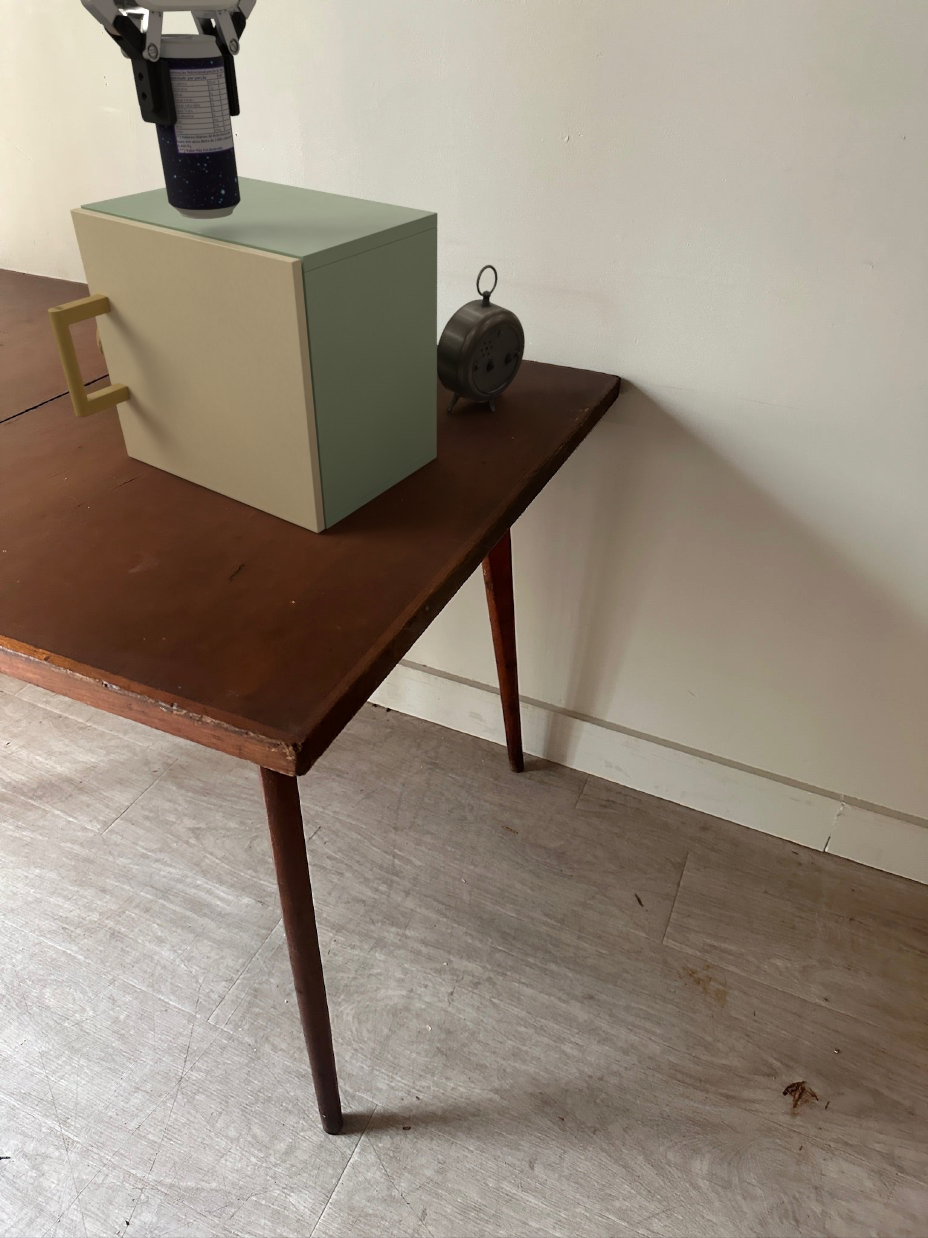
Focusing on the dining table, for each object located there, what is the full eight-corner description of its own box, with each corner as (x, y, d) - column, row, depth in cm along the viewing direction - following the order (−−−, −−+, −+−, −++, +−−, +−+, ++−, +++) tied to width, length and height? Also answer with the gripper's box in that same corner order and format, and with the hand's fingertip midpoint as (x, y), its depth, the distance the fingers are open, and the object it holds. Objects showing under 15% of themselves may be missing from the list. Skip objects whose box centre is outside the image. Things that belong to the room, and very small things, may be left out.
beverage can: (250, 206, 73) (230, 34, 65) (229, 222, 68) (205, 39, 61) (185, 203, 73) (158, 31, 66) (159, 219, 68) (127, 36, 61)
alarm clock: (497, 387, 108) (503, 251, 98) (528, 400, 105) (539, 261, 95) (432, 411, 102) (433, 268, 92) (464, 426, 99) (468, 280, 89)
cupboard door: (274, 561, 76) (237, 279, 61) (82, 477, 87) (11, 221, 73) (325, 529, 81) (301, 258, 66) (135, 452, 92) (79, 207, 77)
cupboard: (326, 529, 81) (303, 256, 66) (137, 453, 92) (80, 205, 77) (436, 457, 93) (437, 212, 78) (257, 397, 104) (227, 173, 89)
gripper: (205, -184, 63) (238, 103, 74) (-13, -222, 51) (65, 125, 62) (282, -189, 60) (304, 112, 71) (68, -230, 48) (135, 137, 59)
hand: (192, 115), depth 66 cm, fingers closed on beverage can, 5 cm apart
